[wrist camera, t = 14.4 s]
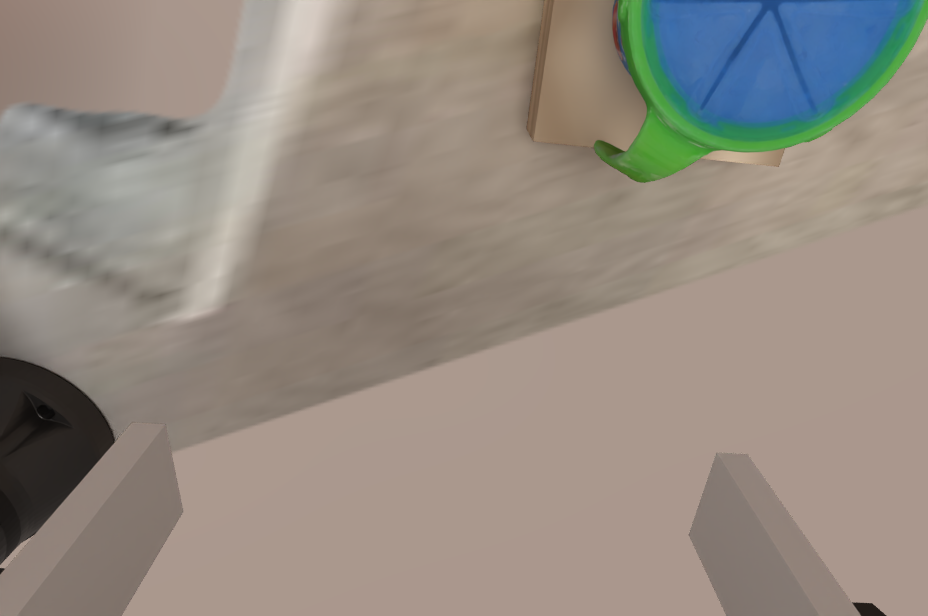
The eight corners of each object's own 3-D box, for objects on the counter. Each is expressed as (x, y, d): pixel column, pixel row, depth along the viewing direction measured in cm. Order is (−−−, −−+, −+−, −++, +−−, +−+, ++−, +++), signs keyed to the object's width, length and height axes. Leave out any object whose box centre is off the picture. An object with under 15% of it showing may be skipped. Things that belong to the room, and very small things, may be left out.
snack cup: (728, -235, 24) (883, -406, 15) (882, -66, 26) (1097, -123, 17) (507, 81, 30) (520, 99, 20) (651, 195, 32) (720, 257, 23)
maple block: (526, 128, 35) (533, 141, 31) (564, -145, 29) (580, -178, 25) (740, 151, 36) (778, 166, 31) (823, -115, 30) (884, -143, 25)
